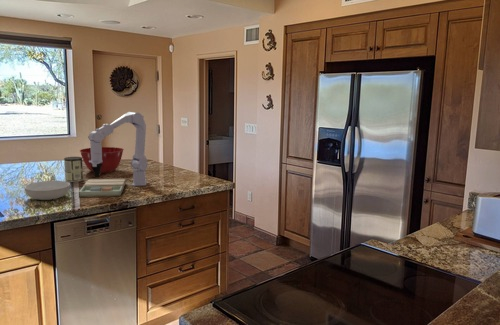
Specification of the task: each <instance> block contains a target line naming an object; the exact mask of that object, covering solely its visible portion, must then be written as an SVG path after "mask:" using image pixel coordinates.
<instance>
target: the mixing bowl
mask: <svg viewBox="0 0 500 325" xmlns="http://www.w3.org/2000/svg"><path fill="white" fill-rule="evenodd" d="M124 150H125V149H124V148H123V147H114V146H113V147H112V146H105V147H104V146H103V147H102V161H103V162H102V163H99V164H103V165H102V167H101V170H100V174H107V173H108V174H109V173H112V172H114V171H115V170H117V168H118V167H119V165H120V163H121V160H122V158H123V153H124ZM79 153H80V154H81V157H82V161H83V162H84V165H85V166H86V168H87V169H88V170H89V171H91V172H93V169H92V167H91V165H92V163H91V162H89V161H91V147H87V148H81V149H80V150H79ZM93 173H94V172H93Z"/></svg>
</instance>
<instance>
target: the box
mask: <svg viewBox="0 0 500 325" xmlns="http://www.w3.org/2000/svg"><path fill="white" fill-rule="evenodd" d="M91 187H101V191H90V189H91ZM103 187H112V188H113V190H112V191H102V188H103ZM123 191H124V188H123V186H82V187H81V188H80V190H79V191H78V197H79V198H80V197H81V198H82V197H86V198H87V197H119V196H120V197H121V196H122V193H123Z"/></svg>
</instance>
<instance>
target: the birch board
mask: <svg viewBox="0 0 500 325" xmlns="http://www.w3.org/2000/svg"><path fill="white" fill-rule="evenodd" d="M125 185H126V178H88V179H87V181H86V182H85V183H84V184H83V186H123V189H124V188H125ZM83 186H82V187H83Z"/></svg>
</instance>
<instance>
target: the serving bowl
mask: <svg viewBox="0 0 500 325" xmlns="http://www.w3.org/2000/svg"><path fill="white" fill-rule="evenodd" d="M70 188H71V182H67V181H65V180H45V181H43V180H42V181H36V182H32V183H29V184H26V185H25V186H24V188H23V189H24V191H25V193H26V195H27V196H28V197H29V198H31V199H33V200H38V201H39V200H41V201H53V200H56V199H58V198H62V197H64V196H65V195H67V194H68V192H69V190H70ZM52 199H53V200H52Z"/></svg>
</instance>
